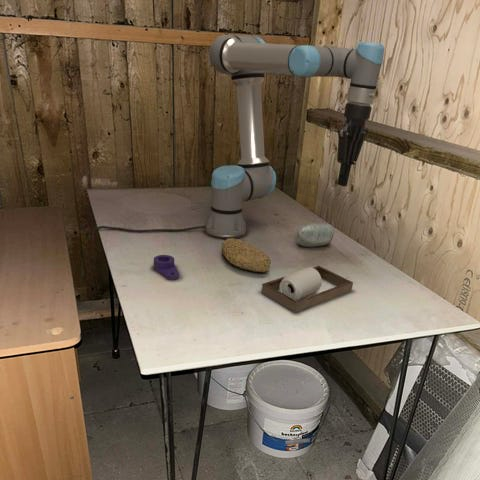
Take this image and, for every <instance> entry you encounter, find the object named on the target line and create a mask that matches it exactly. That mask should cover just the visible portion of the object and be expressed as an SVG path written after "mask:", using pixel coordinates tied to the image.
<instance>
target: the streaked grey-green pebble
mask: <svg viewBox="0 0 480 480" xmlns="http://www.w3.org/2000/svg"><path fill="white" fill-rule="evenodd" d="M334 233H335V231H334V227H333V226H332V225H331V224H329V223H326V222H320V221H319V222H318V221H317V222H315V221H313V222H308V223H304V224H302V225H301V226H300V227H299V228H298V230H297V232H296V236H295V240H296V242H297V244H298V245H299V246H301V247H305V248H315V247H316V248H317V247H322V246H327V245H328V244H330V242H332V240H333V238H334Z"/></svg>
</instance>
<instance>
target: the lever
mask: <svg viewBox="0 0 480 480" xmlns="http://www.w3.org/2000/svg"><path fill="white" fill-rule="evenodd" d="M153 270H154V271H155V272H157V273H158V274H160V275H161V276H162V277H163V278H165V279H167V280H169V281H176V280H179V279H180V272H179V270H178V268H177V266H176V264H175V257H173V255H170V254H160V255H159V254H158V255H156V256H154V257H153Z"/></svg>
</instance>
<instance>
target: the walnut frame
mask: <svg viewBox="0 0 480 480" xmlns="http://www.w3.org/2000/svg"><path fill="white" fill-rule="evenodd" d="M312 268H314V269H316V270H317V271H318V273H319V274H320V276H321V279H323V280H324V281H327V282H329V283H331V284H333V285H335V286H334V287H331V288H328V289H326V290H323V291H321V292H318V293H315V294H311V295H310V296H306V297H303V298H301V299H299V300H297V301H295V300H293V299H292V298H290V297H288V296H286V295H285V294H283V293H281V292H280V289H279V286H280V283H281V282H282V280H283V278H284V277H286V276H287V275H285V276H282V277H278V278H276V279H273V280H269V281H267V282H264V283H261V294H262V295H264V296H266V297H268V299H269V298H270V299H271V300H272V301H274V302H276V303H277V304H279V305H281V306H282V307H283V308H286V309H287V310H289V311H291V312H292V313H294V314H297V313H299V312H302V311H305V310H307V309H309V308H312V307H314V306H317V305H320V304H322V303H325V302H328V301H330V300H332V299H335V298H337V297H340V296H343V295H345V294H348V293H351V292H352V291H353V286H354V281H351V280H349V279H347V278H345V277H343V276H341V275H339V274H337V273H335V272H333V271H331V270H329V269H327V268H325V267H323V266H321V265H316V266H313V267H312Z"/></svg>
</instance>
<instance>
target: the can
mask: <svg viewBox="0 0 480 480" xmlns="http://www.w3.org/2000/svg"><path fill="white" fill-rule="evenodd" d="M285 276H286V277H285ZM285 276H283V277H284V278H283V280H282V282H281V283H280V286H279V289H278V290H279V291H280V292H281V293H283V294H285V295H286V296H288V297H290V298H292V299H293V300H295V301H299V300H301V299H304V298H307V297H309V295H310V296H311V295H313V294H314V293H316V292H317V291H319V290H320V289H321V287H322V284H323V281H322V278H321V276H320V274H319V273H318V271H317V270H316V269H314V268H313V267H310V266H308V267H305V268H302V269H300V270H298V271H296V272H293V273H291V274H288V275H285Z"/></svg>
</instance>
